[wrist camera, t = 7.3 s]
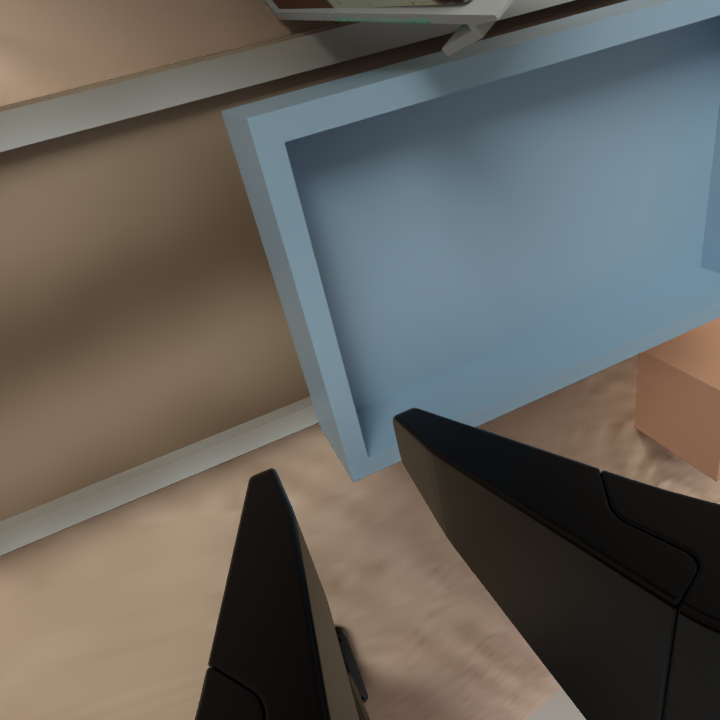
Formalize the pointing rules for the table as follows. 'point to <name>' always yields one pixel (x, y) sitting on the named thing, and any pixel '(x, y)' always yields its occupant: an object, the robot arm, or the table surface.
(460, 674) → the table surface
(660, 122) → the cart
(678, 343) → the block
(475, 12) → the food container
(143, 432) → the track
